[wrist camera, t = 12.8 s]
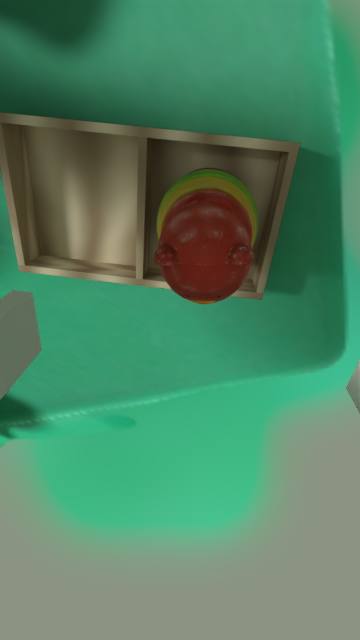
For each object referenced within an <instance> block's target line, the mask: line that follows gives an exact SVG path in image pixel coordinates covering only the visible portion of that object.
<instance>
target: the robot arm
mask: <svg viewBox="0 0 360 640" xmlns="http://www.w3.org/2000/svg"><path fill="white" fill-rule="evenodd" d="M41 350H42V349H41V343H40V337H39V330H38V324H37V318H36V312H35V306H34V300H33V294H32V292H25V291H17V290H13V291H11V292H10V293H8V294H7V295H6V296H4V297H3V298H2V299H0V400H1V399H2V397H3V396H4V395H5V394H6V392H7V391H8V390H9V389H10V388H11V386H12V385H13V384H14V383H15V382H16V380H17V379H18V378H19V377H20V376H21V374H22V373H23V372H24V371H25V369H26V368H27V367H28V366H29V365H30V363H31V362H32V361H33V360H34V359H35V357H36V356H37V355H38V354H39V353H40V351H41ZM346 389H347V391H348V393H349V394H350V396H351V398H352V400H353V402H354V403H355V405H356V407H357V408H358V411H359V412H360V360H359V362H358V364H357V366H356V368H355V370H354V373H353V375H352V377H351V379H350V381H349V383H348V385H347V387H346Z"/></svg>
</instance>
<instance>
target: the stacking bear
mask: <svg viewBox="0 0 360 640" xmlns="http://www.w3.org/2000/svg"><path fill="white" fill-rule="evenodd" d="M257 231H258V212H257V207H256V204H255V201H254V199H253V197H252V195H251V193H250V192H249V190H248V189H247V188H246V186H245V185H244V184H243V183H242V182H241V181H240V180H238V179H237V178H236V177H234V176H232V175H231V174H230V173H228V172H226V171H224V170H221V169H217V168H201V169H198V170H195V171H192V172H190V173H188V174H187V175H185V176H183V177H182V178H180V179H179V180H178V181H176V182H175V183H174V184H173V185H172V186H171V187H170V189H169V190H168V191H167V193H166V194H165V196H164V198H163V200H162V202H161V204H160V207H159V211H158V215H157V235H158V240H159V243H158V249H157V250H156V252H155V254H154V257H153V262H154V263H155V264H157V265H160V269H161V273H162V275H163V277H164V279H165V281H166V282H167V284H168V285H169V286H170V288H171V289H172V290H173V291H174V292H176V293H177V294H178V295H180V296H181V297H183V298H185V299H187V300H190V301H192V302H195V303H199V304H210V303H215V302H218V301H220V300H223V299H225V298H227V297H229V296H231V295H232V294H233V293H235V292H236V291H237V290H238V289H239V288H240V286H241V285H242V284H243V282H244V281H245V279H246V277H247V275H248V272H249V269H250V265H251V263H252V262H253V261H254V254H253V251H252V247H253V245H254V242H255V239H256V236H257Z"/></svg>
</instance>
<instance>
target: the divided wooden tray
mask: <svg viewBox="0 0 360 640" xmlns="http://www.w3.org/2000/svg"><path fill="white" fill-rule="evenodd" d="M299 148H300V143H297V142H287V141H277V140H267V139H257V138H248V137H238V136H228V135H218V134H208V133H198V132H188V131H178V130H169V129H159V128H149V127H139V126H129V125H119V124H109V123H100V122H90V121H80V120H70V119H60V118H50V117H40V116H30V115H21V114H11V113H1V112H0V167H1V173H2V178H3V184H4V189H5V195H6V201H7V206H8V212H9V217H10V223H11V228H12V234H13V239H14V245H15V250H16V256H17V261H18V267H19V271H22V272H31V273H39V274H48V275H56V276H64V277H73V278H81V279H90V280H98V281H107V282H115V283H124V284H132V285H140V286H149V287H157V288H166V289H171V288H170V286H169V285H168V284H167V282H166V281H165V279H164V277H163V275H162V273H161V269H160V265H157V264H155V263H154V262H153V257H154V254H155V252H156V250H157V249H158V243H159V240H158V235H157V215H158V211H159V207H160V204H161V202H162V200H163V198H164V196H165V194H166V193H167V191H168V190H169V189H170V187H171V186H172V185H173V184H174V183H175V182H176V181H178V180H179V179H180V178H182V177H183V176H185V175H187V174H188V173H190V172H192V171H195V170H198V169H201V168H217V169H221V170H224V171H226V172H228V173H230V174H231V175H232V176H234V177H236V178H237V179H238V180H240V181H241V182H242V183H243V184H244V185H245V186H246V188H247V189H248V190H249V192H250V193H251V195H252V197H253V199H254V201H255V204H256V207H257V212H258V231H257V236H256V239H255V242H254V245H253V247H252V251H253V254H254V261H253V262H252V263H251V265H250V269H249V272H248V275H247V277H246V279H245V281H244V282H243V284H242V285H241V286H240V288H239V289H238V290H237V291H236V292H235V293H233V294H232V295H231V296H233V297H242V298H250V299H258V300H262V298H263V294H264V290H265V286H266V282H267V278H268V273H269V269H270V265H271V261H272V257H273V253H274V249H275V245H276V241H277V237H278V233H279V229H280V225H281V221H282V217H283V213H284V208H285V204H286V200H287V196H288V192H289V188H290V184H291V180H292V176H293V172H294V168H295V164H296V160H297V156H298V152H299Z"/></svg>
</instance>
